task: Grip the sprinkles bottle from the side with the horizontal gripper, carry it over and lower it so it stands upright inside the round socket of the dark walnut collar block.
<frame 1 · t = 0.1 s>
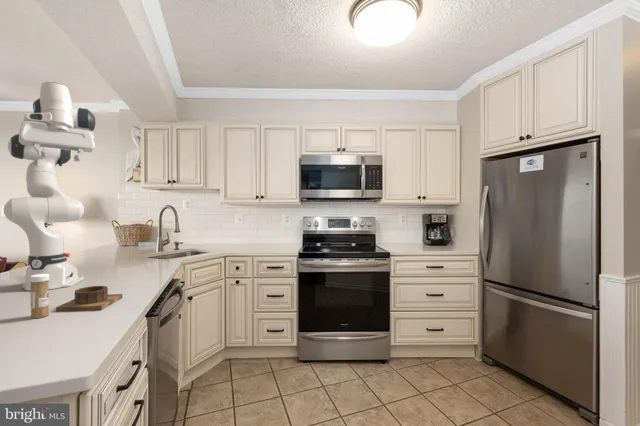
hand: (60, 159, 105), 52 cm above the table, tool tilted 20°, fingers open, 8 cm apart
sprinkles bottle: (40, 316, 97), on the table
walnut collar block: (91, 304, 109), on the table
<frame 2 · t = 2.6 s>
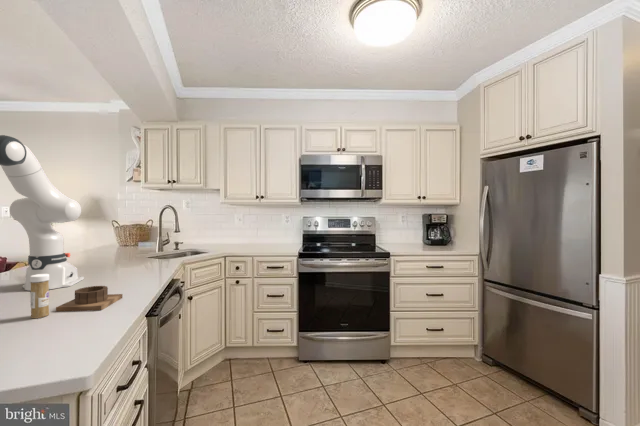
nothing on the table moved.
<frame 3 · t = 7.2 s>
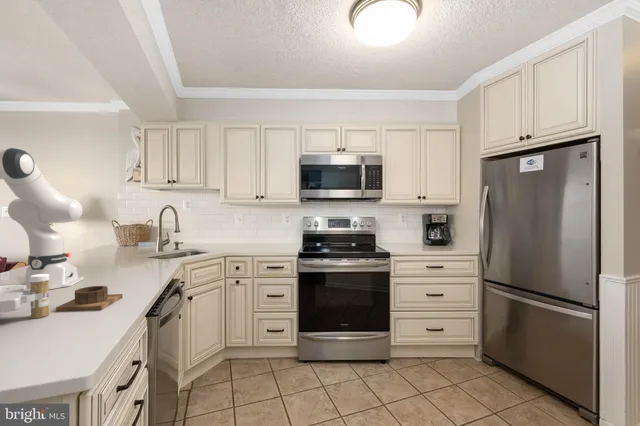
hand: (43, 293, 97), 7 cm above the table, tool horizontal, fingers closed on sprinkles bottle, 4 cm apart
sprinkles bottle: (40, 316, 97), on the table, touching gripper
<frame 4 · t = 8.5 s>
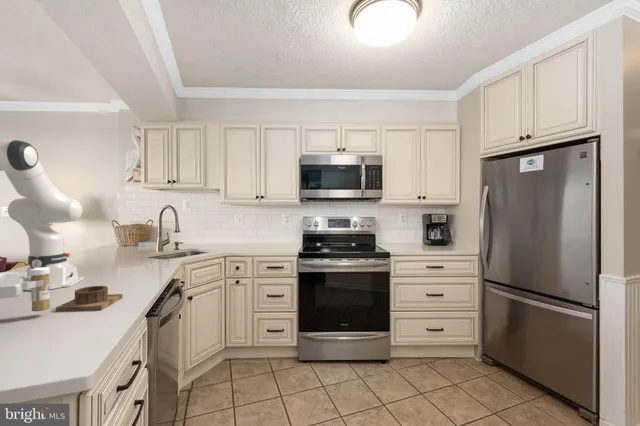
hand: (44, 280, 97), 11 cm above the table, tool horizontal, fingers closed on sprinkles bottle, 4 cm apart
sprinkles bottle: (40, 310, 97), point 2 cm above the table, touching gripper
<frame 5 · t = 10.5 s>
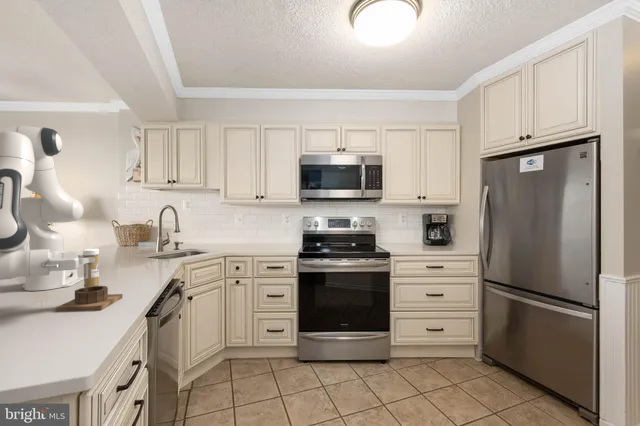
hand: (94, 258, 109), 17 cm above the table, tool horizontal, fingers closed on sprinkles bottle, 4 cm apart
sprinkles bottle: (91, 286, 109), point 6 cm above the table, touching gripper
when the fingers open (10 cm above the table, at t = 12.7 s): sprinkles bottle stays where it is, resting on walnut collar block.
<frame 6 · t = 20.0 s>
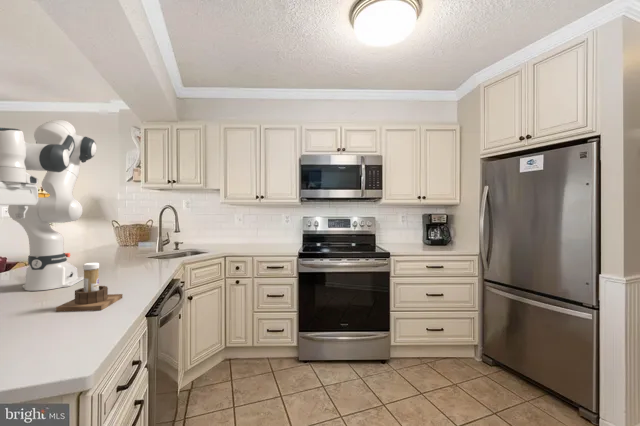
hand: (8, 219, 99), 31 cm above the table, tool pointing down, fingers open, 8 cm apart
sprinkles bottle: (91, 300, 109), point 1 cm above the table, touching walnut collar block
at the end: sprinkles bottle 0.2 cm off-centre on the walnut collar block, point 1.3 cm above the walnut collar block's base; sprinkles bottle tilted 0°; the gripper is holding nothing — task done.
